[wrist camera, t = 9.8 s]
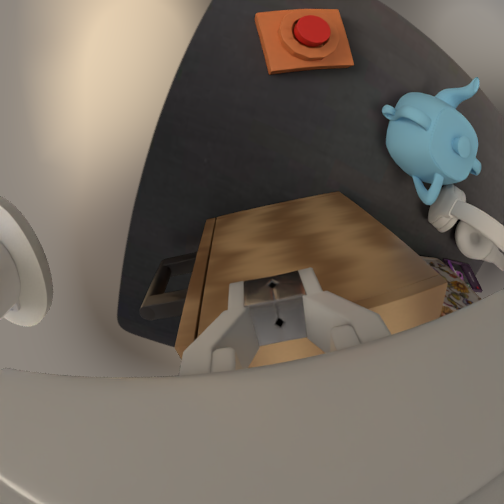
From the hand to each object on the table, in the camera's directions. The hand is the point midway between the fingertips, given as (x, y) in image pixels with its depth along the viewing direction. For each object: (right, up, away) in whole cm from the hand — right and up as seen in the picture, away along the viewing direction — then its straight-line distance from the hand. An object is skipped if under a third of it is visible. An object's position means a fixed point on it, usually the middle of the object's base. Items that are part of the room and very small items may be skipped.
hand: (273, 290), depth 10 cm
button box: (+5, +27, +15) cm, 31 cm away
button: (+5, +25, +11) cm, 28 cm away
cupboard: (+5, -2, +29) cm, 29 cm away
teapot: (+22, +18, +20) cm, 35 cm away
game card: (+37, -2, +31) cm, 48 cm away
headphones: (+31, +8, +26) cm, 41 cm away
